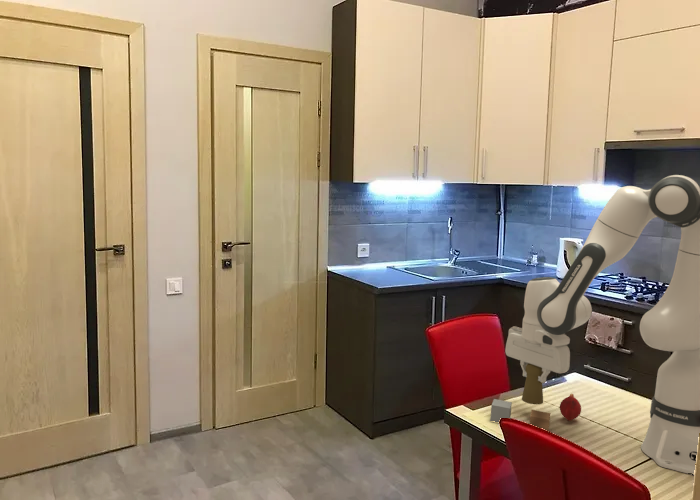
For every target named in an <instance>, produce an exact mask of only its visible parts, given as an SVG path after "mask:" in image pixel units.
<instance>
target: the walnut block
mask: <svg viewBox="0 0 700 500" xmlns="http://www.w3.org/2000/svg"><path fill="white" fill-rule="evenodd" d="M550 422H551V412H545V411H540V410H535V409H531V412H530V415H529V424H532V425H534V426H537V427H539V428H543V429H545V430H547V431H549V430H550V424H551V423H550Z"/></svg>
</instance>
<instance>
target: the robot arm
mask: <svg viewBox="0 0 700 500" xmlns="http://www.w3.org/2000/svg"><path fill="white" fill-rule="evenodd" d="M655 218H659V219H660V220H663V221H665V222H667V223H670V224H672V225H674V226H677V227H678V228H680V231H681V232H680V233H681V236H680V241H679V246H678V251H677V256H676V260H675V266H674V269H673V274H672V277H671V280H670V283H669V284H668V286H667V288H666V290H665V291H664V294H662V296H661V298H660V299H659V300H658V302H657V303H656V304H655V305H653V307H652V308H651V309H650V310H648V311H646V312H645V313H643V315H642V318H641V319H640V322H639V333H640V336H641V338H642V340H643V341H644V343H645V344H646V345H647V346H649V347H650V348H653V349H656V350H660V351H665V352H672V354H671V355H670V356H669V357H668V358H667V360H665V361H664V362H663V363H662V364H661V365H660V366H659V368H658V370H657V374H656V376H657V377H656V383H655V391H654V396H653V397H652V399H651V404H650V410H649V413H650V414H649V415H650V416H649V417H650V420H649V425H648V428H647V430H646V431H647V432H646V434H645V437H644V438H643V440H642V442H641V445H640V449H641V451H642V452H643V453H644V454H645V455H646V456H648V457H649V458H651V459H652V460H653V461H654V462H655V463H656V464H657V465H658V466H659V467H662V468H666V469H669V470H673V471H677V472H681V473H684V474H688V473H692V474H693V473H694V470H695V463H696V455H697V445H698V437H699V433H700V184H699V183H698V182H697V181H696V180H694V179H693V178H691V177H689V176H687V175H686V176H685V175H682V174H680V175H679V174H673V175H668V176H666V177H664V178H661V179H660V180H659V181H657V182H656V183H655V184H654V185H653V186H652V187H651V188H649V189H643V188H642V187H638V186H633V185H626V186H622V187H620V188H619V189H617V190H616V192H614V193H613V195H612V196H611V198H610V199H609V200H608V201H607V203H606V204H605V205H604V208H603V209H601V212H600V214H599V215H598V217H597V218H596V221H595V222H594V224H593V226H592V228H591V229H590V231H589V234H588V236H587V237H586V240H585V242H584V244H583V246H582V247H581V250H580V251H579V252H578V255H577V256H576V258H575V259H574V260H573V262H572V264H571V266H570V267H569V268H568V270H567V272H566V273H565V275H564V277H563V278H562V280H561V281H560V282H559V281H558V280H557V278H556V277H550V276H544V277H543V276H541V277H535V278H532V279H530V280H529V281H528V282H527V285H526V288H525V293H524V301H523V302H524V303H523V309H524V316H523V318H522V327H518V326H517V325H515V326H512V327H509V329H508V336H507V340H506V343H505V355H506V356H507V357H509V358H512V359H515V360H518V361H519V362H520V363H519V364H520V366H521V370H522V376H523V377H525V378H526V377H527V373H526V370H525V369H526V365H527V364H529V363H530V364H532V365H535V366H538V367H541V368H542V371H543V374H542V375H541V376H538V382H541V383H542V384H544V383H545V384H546V383H547V377H548V376H549V374H551V372H553V373H556V374H564V373H567V372H568V371H569V370H570V362H571V352H570V348H569V346H568V345H569V344H570V341H571V338H570V337H569V336H567V334H566V333H568V332H569V331H571V330H574V329H576V328H578V327H580V326H583V325H584V324H586V323H588V321H590V318H591V317H592V315H593V307H592V304H591V302H590V300H589V298H587V296H585V293H586V292H587V290H588V289H589V287H590V285H591V284H592V282H593V281H594V279H595V278H596V277H597V276H598V275H599V274H600V273H601V272H602V271H603V270H604V269H605V270H606V268H608V267H610V266H612V265H613V264H615V263H617V262H619V261H621V260H622V259H623V258H624V257H626V255H628V253H629V252H630V251H631V249H633V247H634V245H635V244H637V243H636V242H637V241H638V240H639V238H640V235H642V232H643V230H645V228H646V226H647V225H648V224H649V223H650V222H651V221H652V220H653V219H655ZM692 474H691V475H692ZM692 476H695V475H694V474H693V475H692Z"/></svg>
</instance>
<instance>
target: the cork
mask: <svg viewBox="0 0 700 500" xmlns="http://www.w3.org/2000/svg"><path fill="white" fill-rule="evenodd" d="M525 370H526V373H527V377H525V382H524V387H523V391H522V396H521V401H522V402H524V403H525V404H526V403H527V404H530V405H542V404H544V391H543V390H544V389H543V388H544V387H543V383H541V382H538V376H541V375H542V374H543V371H542V368H541V367H538V366H535V365H532V364H530V363H529V364H527V365H526V369H525Z"/></svg>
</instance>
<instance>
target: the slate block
mask: <svg viewBox="0 0 700 500" xmlns="http://www.w3.org/2000/svg"><path fill="white" fill-rule="evenodd" d="M512 404H513V403H512V401H507V400H503V399H496V398H493V400H492V403H491V407H490V416H489V417H490V418H489V419H490V420H489V422H490V421H495V422H499V420H500V418H510V419H511V414H512V413H511V412H512Z"/></svg>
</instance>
